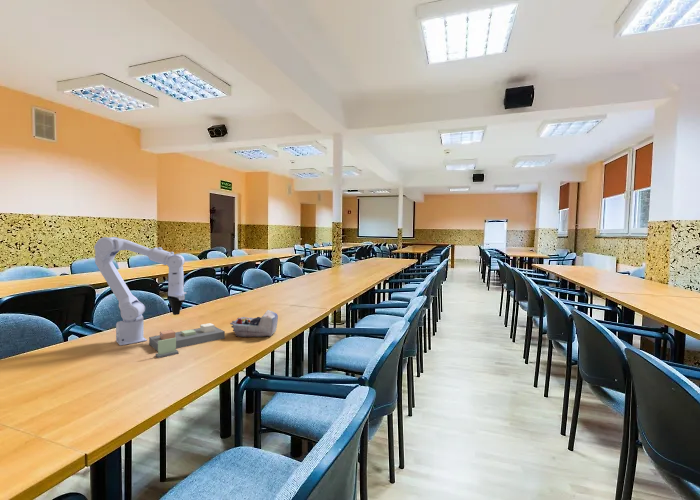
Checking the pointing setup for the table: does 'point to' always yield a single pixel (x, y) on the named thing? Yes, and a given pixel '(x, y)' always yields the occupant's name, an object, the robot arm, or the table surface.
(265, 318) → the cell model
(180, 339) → the button board
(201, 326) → the cream block
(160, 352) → the card
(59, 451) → the table surface
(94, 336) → the table surface
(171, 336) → the terracotta block
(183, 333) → the sage block
